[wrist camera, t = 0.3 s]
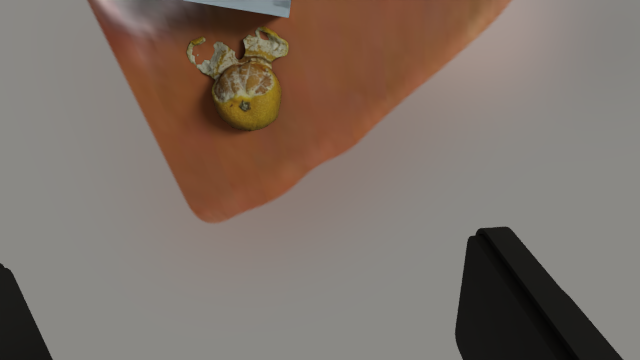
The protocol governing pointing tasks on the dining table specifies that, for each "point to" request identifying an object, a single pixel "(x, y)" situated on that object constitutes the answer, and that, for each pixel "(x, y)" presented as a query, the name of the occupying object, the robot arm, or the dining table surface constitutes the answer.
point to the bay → (253, 5)
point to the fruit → (245, 80)
